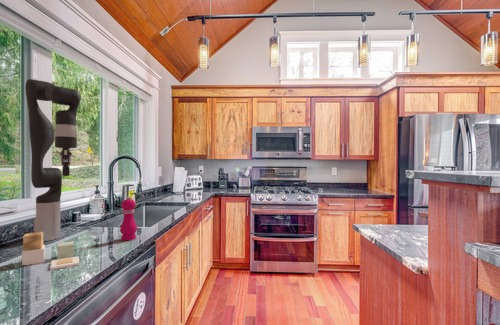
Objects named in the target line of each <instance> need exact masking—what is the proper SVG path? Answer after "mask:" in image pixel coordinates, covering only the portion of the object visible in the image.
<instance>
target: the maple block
mask: <svg viewBox="0 0 500 325" xmlns="http://www.w3.org/2000/svg"><path fill="white" fill-rule="evenodd" d="M22 241H23V242H22V244H23V245H22V246H23V247H22V248H23V249H22V251H28V250H36V249H42V247H43V245H44V241H43V232H36V233H34V232H30V233H29V232H28V233H25V234H24V235H23V238H22Z"/></svg>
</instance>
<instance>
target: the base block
mask: <svg viewBox="0 0 500 325" xmlns="http://www.w3.org/2000/svg"><path fill="white" fill-rule="evenodd" d="M45 259H46V244H43V247H42V249H36V250H28V251H23V250H22V251H21V266H22V265H26V266H31V265H30V264H32V265H36V264H37V263H38V264H43V263H45Z"/></svg>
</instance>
